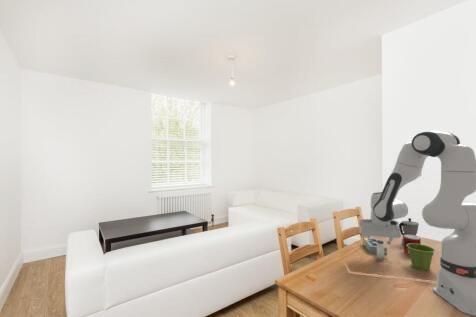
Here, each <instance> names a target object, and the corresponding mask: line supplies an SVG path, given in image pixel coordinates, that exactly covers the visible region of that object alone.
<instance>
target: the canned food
mask: <svg viewBox="0 0 476 317" xmlns="http://www.w3.org/2000/svg"><path fill="white" fill-rule="evenodd" d="M421 242H422V241H421V237H420V236H418V235H416V236H415V235H404V245H403V252H404V253H405V254H407V255H409V256H410V253H409V250H408V247H407V244H410V243H414V244H421ZM421 245H422V244H421Z"/></svg>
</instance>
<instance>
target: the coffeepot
mask: <svg viewBox="0 0 476 317" xmlns="http://www.w3.org/2000/svg"><path fill="white" fill-rule="evenodd" d="M419 225H420V224H419V222H416V221H412V218H409V217H408V220H402V221H400V222H399V225H398V226H399V227H400V232H401V235H402V240H401V244H402V245H403V246H404V235H415V236H417V234H418V229H419Z"/></svg>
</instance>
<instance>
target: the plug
mask: <svg viewBox="0 0 476 317" xmlns="http://www.w3.org/2000/svg"><path fill="white" fill-rule="evenodd" d="M384 245H385V243H384V240H381V239H379V240H377V254H376V255H377V258H378V259H380V260H384V256H385V254H384Z"/></svg>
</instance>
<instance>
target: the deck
mask: <svg viewBox="0 0 476 317" xmlns="http://www.w3.org/2000/svg"><path fill="white" fill-rule="evenodd" d="M370 254H371V257H372V258H373V259H374V260H375V262H378V263H387V264H391V261H390V260H389V259H388V258H387V257H386V256H385V255H384V260H380V259H378V258H377V254H374V253H370Z"/></svg>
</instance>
